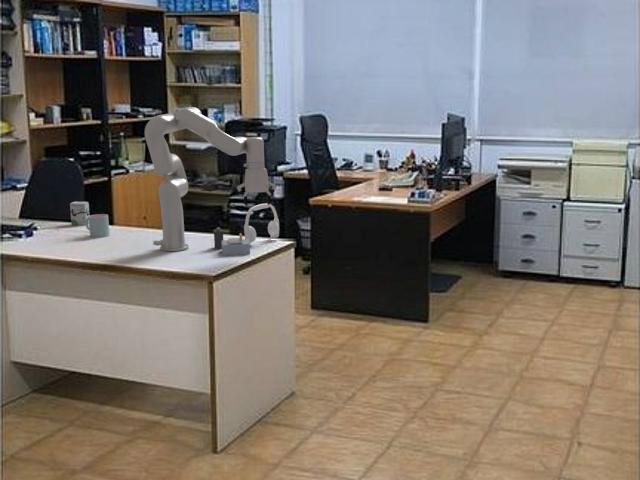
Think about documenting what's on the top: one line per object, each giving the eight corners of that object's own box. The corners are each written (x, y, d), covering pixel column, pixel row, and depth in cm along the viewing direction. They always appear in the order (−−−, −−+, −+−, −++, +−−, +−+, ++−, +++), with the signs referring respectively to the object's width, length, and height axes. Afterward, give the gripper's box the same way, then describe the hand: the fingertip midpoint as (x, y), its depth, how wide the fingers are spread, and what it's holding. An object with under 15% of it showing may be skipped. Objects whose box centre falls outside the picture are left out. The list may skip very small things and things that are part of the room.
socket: (222, 255, 357) (221, 245, 357) (221, 250, 367) (221, 240, 366) (250, 253, 359) (249, 243, 358) (248, 249, 369) (248, 239, 368)
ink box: (71, 225, 436) (69, 203, 434) (75, 223, 441) (73, 201, 439) (86, 225, 435) (84, 203, 432) (90, 223, 440) (88, 201, 437)
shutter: (228, 243, 358) (228, 236, 357) (228, 240, 366) (227, 233, 365) (242, 243, 359) (242, 235, 358) (241, 239, 366) (241, 232, 366)
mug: (113, 234, 408) (112, 215, 406) (99, 238, 400) (97, 218, 398) (94, 232, 415) (92, 212, 413) (79, 235, 407) (78, 215, 405)
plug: (214, 249, 371) (213, 228, 369) (214, 247, 375) (213, 227, 373) (223, 248, 371) (222, 228, 369) (223, 246, 375) (222, 226, 373)
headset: (251, 246, 374) (250, 208, 370) (241, 244, 378) (239, 206, 375) (282, 239, 388) (281, 201, 385) (271, 237, 393) (270, 200, 389)
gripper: (236, 167, 352) (238, 207, 356) (276, 166, 355) (278, 205, 358) (235, 165, 360) (237, 204, 363) (274, 164, 362) (276, 202, 366)
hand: (257, 205), depth 361 cm, fingers open, 9 cm apart
